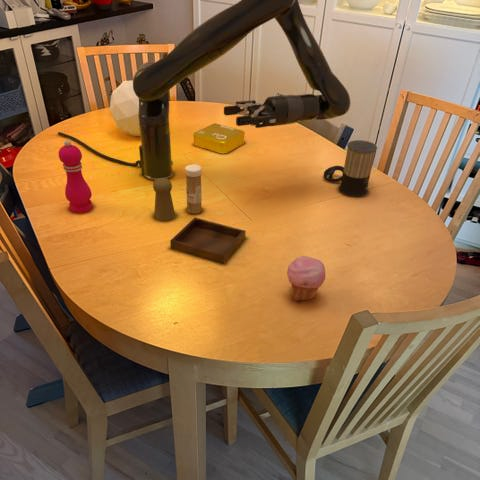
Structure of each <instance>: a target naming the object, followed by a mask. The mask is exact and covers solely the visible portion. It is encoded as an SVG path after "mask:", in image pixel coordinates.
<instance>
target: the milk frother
mask: <svg viewBox="0 0 480 480" xmlns="http://www.w3.org/2000/svg"><path fill="white" fill-rule="evenodd" d="M346 146H347V150H346V154H345V160H344V166H342V165H333V166H330V167H327V168H326V169H325V170H324V172H323V178H324V179H325V180H326V181H327V182H331V183H340V184H339V186H338V190H339V192H340V193H342V194H344V195H346V196H349V197H363V196H366V194H368V189H369V188H368V187H369V182H370V179H371V174H372V173H371V172H372V169H373V165H374V161H375V158H376V154H377V150H378V146H377V145H376V144H375V143H374V142H371V141H367V140H361V139H357V140H350V141H348V142H347V144H346ZM336 171H340V172H341V173H342V175H341V176H339V177H337V178H333V175H335V173H336Z"/></svg>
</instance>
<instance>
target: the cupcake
mask: <svg viewBox="0 0 480 480" xmlns="http://www.w3.org/2000/svg"><path fill="white" fill-rule="evenodd" d="M286 275H287V278H288V282H289V283H290V285H291V290H292V291H291V293H292V295H291V296H292V298H293V300H295V301H299V302H300V301H308V300H309V301H310V300H311V299H313V298H314V297H315V295H316V294H317V292H318V289H319V288H320V287H321V286H322V285H323V284H324V282H325V280H326V268H325V265H324V263H323V262H322V261H321V260H320V259H317V258H314V257H312V256H307V255H306V256H305V255H301V256H299V257H296V258H295V259H294V260H292V261H291V262H290V263H289V264H288V267H287V271H286Z"/></svg>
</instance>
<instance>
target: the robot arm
mask: <svg viewBox="0 0 480 480" xmlns="http://www.w3.org/2000/svg"><path fill="white" fill-rule="evenodd" d="M272 20H275V21H276V22H277V24H278V25H279V27H280V28H281V30H282V31H283V34H284V35H285V36H286V38H287V41H288V43H289V45H290V48H291V49H292V52H293V55H294V57H295V59H296V61H297V64H298V66H299V68H300V71H301V72H302V74H303V76H304V78H305V80H306V82H307V83H308V85H309V87H310V89H311V90H313V91H319V93H320V94H313V93H304V94H303V93H302V94H285V95H283V94H282V95H275V96H273V95H272V96H268V97H266V99H265V100H264V102H263V103H260V102H257V101H256V100H254V99H253V100H240V101H236V102H235V105H226V106H224V107H223V115H224V116H234V115H239V116H236V117H235V125H236V126H237V127H242V126H243V127H244V126H251V127H254V128H256V129H260V128H267V127H277V126H285V125H294V124H296V123H299V122H300V123H302V122H309V121H317V120H318V121H322V120H323V121H324V120H332V119H334V118H338V117H343V116H344V115H345V114H347V113H348V112H349V110H350V108H351V97H350V94H349V92H348V90H347V88H346V87H345V85H344V84H343V83H342V82H341V81H340V79H339V78H338V77H337V75H335V74H334V72H333V70H332V69H331V66H330V65H329V62H328V60H327V58H326V57H325V55H324V52H323V51H322V48H321V47H320V44H318V42H317V40H316V37H315V36H314V35H313V32H312V31H311V29H310V28H309V25H308V23H307V21H306V19H305V17H304V14H303V12H302V9H301V6H300V2H299V0H239V1H238V2H236V3H235V4H233V5H231V6H229V7H227V8H225V9H222V10H221V11H220V12H218V13H217V14H215V15H213V16H211V17H209V18H208V19H206V21H205V20H204V22H203V23H201V24H200V25H199V26H197V27H195V28H193V30H192V31H190V33H188V34H187V35H186V36H185V37H184V38H183V39H182V40H181V41H180V42H179V43H177V45H175V47H174V48H173V49H172V50H171V51H169V53H168V54H166V55H165V56H163V57H161V58H160V59H159V60H157V61H146V62H144V63H142V64H140V66H139V67H138V69H137V70H136V72H135V73H134V76H133V79H132V80H133V90H134V93H135V94H136V96H137V97H138V98H139V111H138V118H139V126H140V144H141V145H139V146H138V151H139V160H136V161H135V162H127V161H124V160H121V159H117V158H114V157H111V156H109V155H106V154H104V153H101V152H100V151H97V150H96V149H94V148H93V147H91V146H89V145H87V144H86V143H85V142H84V141H81V140H80V139H78V138H76V137H74V136H72V135H69V134H66V133H64V132H60V131H58V132H57V135H58V136H62V137H65V138H68V139H69V140H72V141H75V142H76V143H78V144H80V145H81V146H83V147H84V148H86V149H87V150H88V151H90V152H92V153H94V154H95V155H97V156H99V157H101V158H104V159H106V160H108V161H112V162H114V163H118V164H122V165H124V166H129V167H139V169H140V171H141V175H142V176H144V177H145V178H146V179H148V180H152V181H155V180H157V179H159V178H165V179H168V180H169V179H170V178H171V177H173V174H174V173H173V165H174V163H173V160H172V147H171V145H172V144H171V129H170V95H169V94H170V92H169V91H170V90H171V89H173V88H174V87H175V86H176V85H177V84H179V83H180V82H181V81H183V80H184V79H186V78H187V77H189V76H191V75H194V74H195V73H197V72H199V71H200V70H202V69H203V68H206V67H207V66H209V65H211V64H212V63H213V62H215V61H217V60H218V59H220V58H221V57H223V56H224V55H225V54H227V53H229V51H231V50H232V49H233V48H235V47H236V46H237V45H239V43H241V41H242V40H244V39H245V38H246V37H247V36H248V35H249V34H251V33H252V32H253V31H254V30H255V29H257V28H259V27H260V26H263V25H265V24H266V23H268V22H270V21H272Z"/></svg>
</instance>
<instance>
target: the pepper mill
mask: <svg viewBox="0 0 480 480" xmlns="http://www.w3.org/2000/svg"><path fill="white" fill-rule="evenodd" d="M63 144H64V145H63V146H61V147H60V148H59V150H58V159H59V161H60V162H61V163H62V167H63V170H64V172H65V174H66V183H65V189H64V194H65V198H66V201H68V205H69V209H70V211H71V212H72V213H75V214H76V213H77V214H83V213H87V212H89V211H91V210H92V209H93V203H92V200H91V198H92V195H93V194H92V191H91V188H90V186H89V185H88V183H87V181H86V180H85V178H84V175H83V172H82V169H83V165H82V164H83V163H82V162H81V161H82V159H83V154H82V151H81V149H80V148H79V147H78V146H76V145H74V144H72V141H71V139H65V140H64V142H63Z"/></svg>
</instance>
